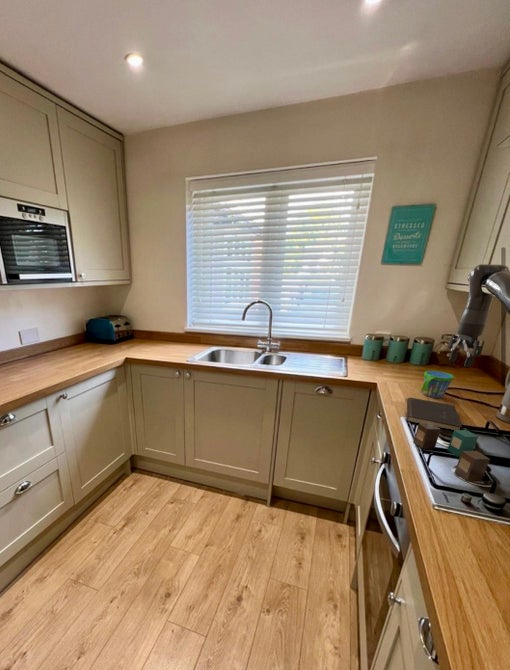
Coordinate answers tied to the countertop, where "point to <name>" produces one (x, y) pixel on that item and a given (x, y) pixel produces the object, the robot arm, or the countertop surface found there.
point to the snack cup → (436, 383)
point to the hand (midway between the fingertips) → (459, 363)
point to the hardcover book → (433, 413)
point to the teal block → (462, 442)
